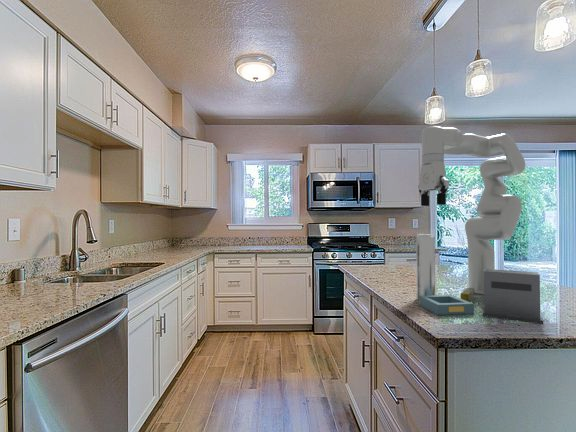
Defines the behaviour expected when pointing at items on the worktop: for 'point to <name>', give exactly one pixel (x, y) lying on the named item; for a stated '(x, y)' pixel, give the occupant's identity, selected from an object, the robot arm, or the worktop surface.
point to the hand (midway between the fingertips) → (432, 205)
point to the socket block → (446, 305)
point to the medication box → (468, 294)
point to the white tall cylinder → (425, 264)
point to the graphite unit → (512, 295)
